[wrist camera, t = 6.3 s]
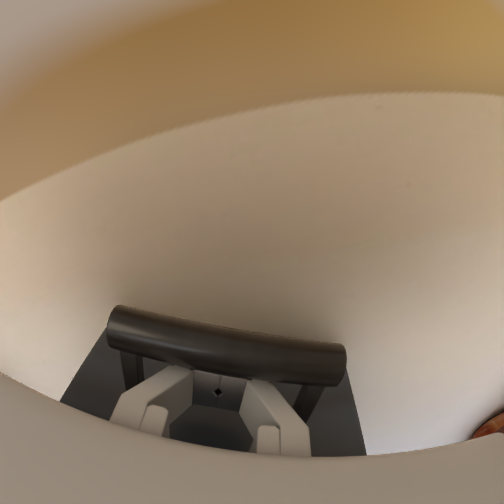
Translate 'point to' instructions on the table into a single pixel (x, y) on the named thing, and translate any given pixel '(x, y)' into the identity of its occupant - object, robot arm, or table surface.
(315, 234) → the table surface
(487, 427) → the mug
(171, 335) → the drawer
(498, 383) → the table surface
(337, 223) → the table surface
